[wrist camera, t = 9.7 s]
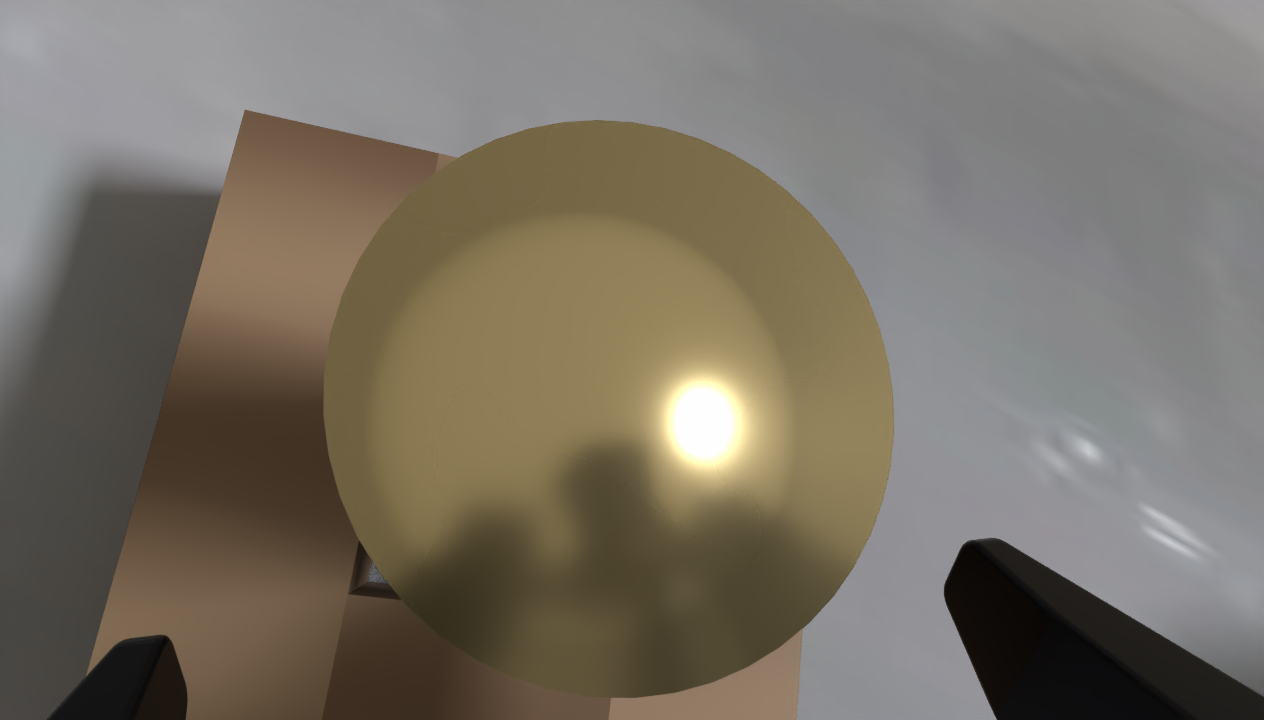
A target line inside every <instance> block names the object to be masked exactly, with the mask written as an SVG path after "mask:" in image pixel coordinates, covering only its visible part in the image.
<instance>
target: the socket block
mask: <svg viewBox="0 0 1264 720" xmlns="http://www.w3.org/2000/svg"><path fill="white" fill-rule="evenodd" d="M456 159H458V158H456V157H452V156H448V155H443V154H439V153H434V152H430V151H425V150H421V149H416V148H412V147H408V146H403V145H399V144H394V143H390V142H385V141H381V140H377V139H372V138H368V137H363V136H359V135H354V134H350V133H345V132H341V131H337V130H332V129H328V128H323V127H319V126H314V125H310V124H306V123H301V122H297V121H292V120H288V119H283V118H279V117H275V116H270V115H266V114H261V113H257V112H252V111H248V110H245V111H244V115H243V118H242V122H241V126H240V129H239V133H238V136H237V140H236V143H235V147H234V151H233V154H232V158H231V161H230V165H229V168H228V172H227V175H226V179H225V183H224V186H223V190H222V193H221V197H220V200H219V204H218V207H217V211H216V215H215V218H214V222H213V225H212V229H211V232H210V236H209V240H208V243H207V247H206V250H205V254H204V257H203V261H202V264H201V268H200V272H199V275H198V279H197V282H196V286H195V289H194V293H193V296H192V300H191V304H190V307H189V311H188V314H187V318H186V321H185V325H184V329H183V332H182V336H181V339H180V343H179V346H178V350H177V353H176V357H175V361H174V364H173V368H172V371H171V375H170V378H169V382H168V385H167V389H166V393H165V396H164V400H163V403H162V407H161V410H160V414H159V418H158V421H157V425H156V428H155V432H154V435H153V439H152V442H151V446H150V450H149V453H148V457H147V460H146V464H145V467H144V471H143V474H142V478H141V482H140V485H139V489H138V492H137V496H136V499H135V503H134V507H133V510H132V514H131V517H130V521H129V524H128V528H127V531H126V535H125V539H124V542H123V546H122V549H121V553H120V556H119V560H118V563H117V567H116V571H115V574H114V578H113V581H112V585H111V588H110V592H109V596H108V599H107V603H106V606H105V610H104V613H103V617H102V620H101V624H100V628H99V631H98V635H97V638H96V642H95V645H94V649H93V652H92V656H91V660H90V663H89V667H88V670H87V674H86V676H87V675H88V673H89V672H90V671H91V670H92V669H93V668H94V667H95V666H96V665H97V664H98V663H99V661H100V660H101V659H102V658H103V657H104V656H105V655H106V654H107V653H108V652H109V650H110V649H111V648H112V647H113V646H114V645H116V644H117V643H118V642H120V641H122V640H124V639H128V638H136V637H144V636H153V635H166V636H168V637H169V638H170V639H171V641H172V643H173V645H174V648H175V651H176V654H177V657H178V661H179V664H180V667H181V670H182V673H183V676H184V679H185V682H186V686H187V694H188V703H187V714H186V720H796V719H797V704H798V689H799V674H800V658H801V643H802V629H801V630H800V631H799V632H798V633H797V634H795V635H794V636H793V637H792V638H790V639H789V640H788V641H787V642H786V643H784V644H783V645H782V646H781V647H780V648H778V649H776V650H775V651H773V652H771V653H770V654H768V655H767V656H765V657H763V658H762V659H760V660H758V661H757V662H755V663H754V664H752V665H750V666H749V667H747V668H745V669H742V670H740V671H738V672H735V673H733V674H731V675H729V676H726V677H724V678H722V679H719V680H717V681H715V682H713V683H709V684H705V685H702V686H698V687H695V688H691V689H687V690H684V691H680V692H676V693H671V694H663V695H655V696H647V697H639V698H605V697H589V696H583V695H577V694H571V693H565V692H559V691H553V690H550V689H547V688H544V687H540V686H537V685H534V684H531V683H528V682H525V681H521V680H518V679H515V678H512V677H510V676H508V675H506V674H504V673H502V672H500V671H498V670H496V669H494V668H492V667H490V666H488V665H486V664H483V663H481V662H479V661H477V660H475V659H474V658H472V657H471V656H469V655H468V654H466V653H465V652H463V651H462V650H460V649H459V648H457V647H456V646H454V645H453V644H451V643H450V642H448V641H447V640H445V639H444V638H442V637H441V636H440V635H438V634H437V633H436V632H435V631H434V630H433V629H432V628H431V627H430V626H428V625H427V624H426V623H425V622H424V621H423V620H422V619H421V618H420V617H418V616H417V615H416V614H415V613H414V612H413V611H412V610H411V609H410V608H409V607H407V605H406V604H405V603H404V602H403V601H402V599H401V598H400V597H399V596H398V595H397V593H396V592H395V591H394V590H393V589H392V587H391V586H390V585H389V584H385V583H377V582H368V579H369V574H370V569H371V564H372V560H371V558H370V557H369V555H368V553H367V552H366V550H365V548H364V547H363V545H362V544H361V542H360V540H359V539H358V537H357V535H356V533H355V530H354V528H353V526H352V524H351V521H350V519H349V517H348V514H347V512H346V510H345V507H344V505H343V503H342V501H341V498H340V495H339V492H338V488H337V484H336V481H335V477H334V473H333V470H332V466H331V463H330V459H329V455H328V447H327V439H326V431H325V423H324V415H323V406H324V370H325V364H326V357H327V351H328V345H329V338H330V332H331V329H332V326H333V323H334V319H335V316H336V313H337V310H338V306H339V303H340V300H341V297H342V294H343V292H344V290H345V288H346V285H347V283H348V281H349V279H350V277H351V275H352V273H353V270H354V268H355V266H356V264H357V262H358V260H359V258H360V257H361V255H362V254H363V252H364V251H365V249H366V248H367V246H368V244H369V243H370V241H371V240H372V238H373V237H374V235H375V234H376V232H377V231H378V229H379V228H380V227H381V225H382V224H383V223H384V222H385V221H386V220H387V219H388V217H389V216H390V215H391V214H392V213H393V212H394V211H395V209H396V208H397V207H398V206H399V205H400V204H401V203H402V201H403V200H404V199H405V198H406V197H408V196H409V195H410V194H411V193H412V192H413V191H414V190H416V189H417V188H418V187H419V186H420V185H421V184H423V183H424V182H425V181H426V180H427V179H428V178H429V177H431V176H432V175H433V174H435V173H436V172H438V171H439V170H441V169H442V168H444V167H445V166H447V165H448V164H450V163H451V162H453V161H455V160H456Z"/></svg>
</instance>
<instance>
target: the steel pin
mask: <svg viewBox="0 0 1264 720" xmlns="http://www.w3.org/2000/svg"><path fill="white" fill-rule="evenodd" d="M323 415H324V423H325V431H326V439H327V447H328V455H329V459H330V463H331V466H332V470H333V473H334V477H335V481H336V484H337V488H338V492H339V495H340V498H341V501H342V503H343V505H344V507H345V510H346V512H347V514H348V517H349V519H350V521H351V524H352V526H353V528H354V530H355V533H356V535H357V537H358V539H359V540H360V542H361V544H362V545H363V547H364V548H365V550H366V552H367V553H368V555H369V557H370V558H371V560H372V561H373V563H374V565H375V566H376V568H377V570H378V571H379V573H380V574H381V575H382V576H383V578H384V579H385V580H386V581H387V583H388V584H389V585H390V586H391V587H392V589H393V590H394V591H395V592H396V593H397V595H398V596H399V597H400V598H401V599H402V601H403V602H404V603H405V604H406V605H407V607H409V608H410V609H411V610H412V611H413V612H414V613H415V614H416V615H417V616H418V617H420V618H421V619H422V620H423V621H424V622H425V623H426V624H427V625H428V626H430V627H431V628H432V629H433V630H434V631H435V632H436V633H437V634H438V635H440V636H441V637H442V638H444V639H445V640H447V641H448V642H450V643H451V644H453V645H454V646H456V647H457V648H459V649H460V650H462V651H463V652H465V653H466V654H468V655H469V656H471V657H472V658H474V659H475V660H477V661H479V662H481V663H483V664H486V665H488V666H490V667H492V668H494V669H496V670H498V671H500V672H502V673H504V674H506V675H508V676H510V677H512V678H515V679H518V680H521V681H525V682H528V683H531V684H534V685H537V686H540V687H544V688H547V689H550V690H553V691H559V692H565V693H571V694H577V695H583V696H589V697H605V698H639V697H647V696H655V695H663V694H671V693H676V692H680V691H684V690H687V689H691V688H695V687H698V686H702V685H705V684H709V683H713V682H715V681H717V680H719V679H722V678H724V677H726V676H729V675H731V674H733V673H735V672H738V671H740V670H742V669H745V668H747V667H749V666H750V665H752V664H754V663H755V662H757V661H758V660H760V659H762V658H763V657H765V656H767V655H768V654H770V653H771V652H773V651H775V650H776V649H778V648H780V647H781V646H782V645H783V644H784V643H786V642H787V641H788V640H789V639H790V638H792V637H793V636H794V635H795V634H797V633H798V632H799V631H800V630H801V629H803V628H804V627H805V626H806V625H807V624H809V622H810V621H811V620H812V619H813V618H814V617H815V616H816V615H817V614H818V613H819V612H820V610H821V609H822V608H823V607H824V606H825V605H826V604H827V603H828V602H829V601H830V600H831V598H832V597H833V596H834V595H835V593H836V592H837V591H838V589H839V588H840V586H841V585H842V583H843V582H844V580H845V579H846V578H847V576H848V575H849V573H850V572H851V570H852V569H853V567H854V566H855V564H856V562H857V560H858V558H859V556H860V554H861V552H862V550H863V548H864V547H865V545H866V543H867V541H868V539H869V537H870V535H871V532H872V529H873V527H874V524H875V521H876V518H877V516H878V513H879V510H880V507H881V505H882V502H883V498H884V493H885V489H886V485H887V480H888V476H889V471H890V467H891V457H892V447H893V437H894V409H893V392H892V385H891V377H890V370H889V363H888V359H887V355H886V351H885V348H884V344H883V340H882V336H881V332H880V329H879V326H878V324H877V321H876V318H875V316H874V313H873V311H872V308H871V305H870V303H869V300H868V298H867V296H866V294H865V292H864V290H863V288H862V286H861V284H860V282H859V280H858V278H857V277H856V275H855V273H854V271H853V269H852V267H851V266H850V264H849V263H848V261H847V260H846V258H845V257H844V255H843V254H842V252H841V251H840V249H839V248H838V246H837V245H836V243H835V242H834V240H833V239H832V238H831V237H830V235H829V234H828V233H827V232H826V231H825V230H824V228H823V227H822V226H821V225H820V224H819V222H818V221H817V220H816V219H815V218H814V217H813V215H812V214H811V213H810V212H809V211H808V210H807V209H806V208H805V207H804V206H802V205H801V204H800V203H799V202H798V201H797V200H796V199H795V198H794V197H793V196H792V195H791V194H790V193H789V192H788V191H787V190H785V189H784V188H783V187H781V186H780V185H779V184H777V183H776V182H775V181H773V180H772V179H771V178H769V177H768V176H767V175H765V174H764V173H763V172H761V171H760V170H759V169H757V168H755V167H754V166H752V165H750V164H748V163H747V162H745V161H743V160H742V159H740V158H738V157H736V156H735V155H733V154H731V153H730V152H727V151H725V150H723V149H721V148H718V147H716V146H714V145H712V144H709V143H707V142H705V141H703V140H700V139H698V138H695V137H691V136H688V135H685V134H682V133H678V132H675V131H672V130H669V129H665V128H660V127H655V126H649V125H644V124H638V123H633V122H618V121H602V120H593V121H577V122H562V123H557V124H552V125H546V126H541V127H536V128H530V129H527V130H523V131H520V132H517V133H514V134H511V135H508V136H505V137H502V138H499V139H496V140H493V141H491V142H489V143H487V144H485V145H483V146H481V147H479V148H477V149H475V150H472V151H470V152H468V153H466V154H464V155H462V156H461V157H459V158H458V159H456V160H455V161H453V162H451V163H450V164H448V165H447V166H445V167H444V168H442V169H441V170H439V171H438V172H436V173H435V174H433V175H432V176H431V177H429V178H428V179H427V180H426V181H425V182H424V183H423V184H421V185H420V186H419V187H418V188H417V189H416V190H414V191H413V192H412V193H411V194H410V195H409V196H408V197H406V198H405V199H404V200H403V201H402V203H401V204H400V205H399V206H398V207H397V208H396V209H395V211H394V212H393V213H392V214H391V215H390V216H389V217H388V219H387V220H386V221H385V222H384V223H383V224H382V225H381V227H380V228H379V229H378V231H377V232H376V234H375V235H374V237H373V238H372V240H371V241H370V243H369V244H368V246H367V248H366V249H365V251H364V252H363V254H362V255H361V257H360V258H359V260H358V262H357V264H356V266H355V268H354V270H353V273H352V275H351V277H350V279H349V281H348V283H347V285H346V288H345V290H344V292H343V294H342V297H341V300H340V303H339V306H338V310H337V313H336V316H335V319H334V323H333V326H332V329H331V332H330V338H329V345H328V351H327V357H326V364H325V370H324V406H323Z"/></svg>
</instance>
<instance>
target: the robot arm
mask: <svg viewBox="0 0 1264 720" xmlns="http://www.w3.org/2000/svg"><path fill="white" fill-rule="evenodd" d="M944 597H945V602H946V605H947V607H948V610H949V612H950V614H951V617H952V619H953V621H954V623H955V626H956V628H957V630H958V633H959V635H960V637H961V640H962V642H963V644H964V647H965V649H966V651H967V654H968V656H969V658H970V660H971V663H972V665H973V667H974V670H975V672H976V674H977V677H978V679H979V681H980V684H981V686H982V688H983V691H984V693H985V695H986V697H987V700H988V702H989V704H990V706H991V708H992V710H993V713H994V715H995V717H996V719H997V720H1264V697H1263V696H1262V695H1260V694H1258V693H1257V692H1255V691H1253V690H1252V689H1250V688H1248V687H1247V686H1245V685H1243V684H1242V683H1240V682H1238V681H1237V680H1235V679H1233V678H1232V677H1230V676H1228V675H1227V674H1225V673H1223V672H1222V671H1220V670H1218V669H1217V668H1215V667H1213V666H1212V665H1210V664H1208V663H1207V662H1205V661H1203V660H1202V659H1200V658H1198V657H1197V656H1195V655H1193V654H1192V653H1190V652H1188V651H1187V650H1185V649H1183V648H1182V647H1180V646H1178V645H1177V644H1175V643H1173V642H1172V641H1170V640H1168V639H1166V638H1165V637H1163V636H1161V635H1160V634H1158V633H1156V632H1155V631H1153V630H1151V629H1150V628H1148V627H1146V626H1145V625H1143V624H1141V623H1140V622H1138V621H1136V620H1135V619H1133V618H1131V617H1130V616H1128V615H1126V614H1125V613H1123V612H1121V611H1120V610H1118V609H1116V608H1115V607H1113V606H1111V605H1110V604H1108V603H1106V602H1105V601H1103V600H1101V599H1100V598H1098V597H1096V596H1095V595H1093V594H1091V593H1090V592H1088V591H1086V590H1085V589H1083V588H1081V587H1080V586H1078V585H1076V584H1075V583H1073V582H1071V581H1070V580H1068V579H1066V578H1065V577H1063V576H1061V575H1060V574H1058V573H1056V572H1055V571H1053V570H1051V569H1050V568H1048V567H1046V566H1044V565H1043V564H1041V563H1039V562H1038V561H1036V560H1034V559H1033V558H1031V557H1029V556H1028V555H1026V554H1024V553H1023V552H1021V551H1019V550H1018V549H1016V548H1014V547H1013V546H1011V545H1009V544H1008V543H1006V542H1004V541H1002V540H1000V539H997V538H986V539H977V540H970V541H967V542H966V543H965V544H963V546H962V547H961V549H960V551H959V553H958V555H957V558H956V560H955V562H954V564H953V566H952V568H951V571H950V573H949V575H948V577H947V579H946V582H945V585H944ZM187 703H188V694H187V686H186V682H185V679H184V676H183V673H182V670H181V667H180V664H179V661H178V657H177V654H176V651H175V648H174V645H173V643H172V641H171V639H170V638H169V637H168V636H166V635H153V636H144V637H136V638H128V639H124V640H122V641H120V642H118V643H117V644H116V645H114V646H113V647H112V648H111V649H110V650H109V652H108V653H107V654H106V655H105V656H104V657H103V658H102V659H101V660H100V661H99V663H98V664H97V665H96V666H95V667H94V668H93V669H92V670H91V671H90V672H89V673H88V675H87V676H86V677H85V678H84V679H83V680H82V681H81V682H80V683H79V684H78V686H77V687H76V688H75V689H74V690H73V691H72V692H71V693H70V694H69V695H68V697H67V698H66V699H65V700H64V701H63V702H62V703H61V704H60V705H59V706H58V707H57V709H56V710H55V711H54V712H53V713H52V714H51V715H50V716H49V717H48V718H47V720H186V714H187Z"/></svg>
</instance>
